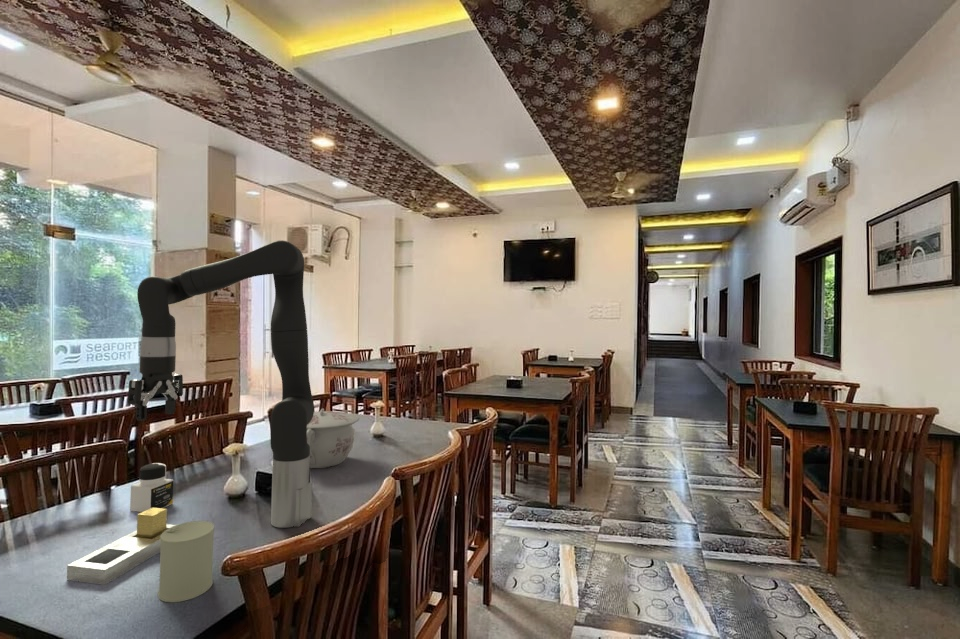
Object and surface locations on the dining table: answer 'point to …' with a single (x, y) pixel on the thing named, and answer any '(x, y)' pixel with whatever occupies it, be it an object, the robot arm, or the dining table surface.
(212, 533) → the can
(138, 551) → the rail
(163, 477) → the medicine bottle
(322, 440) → the chamber pot
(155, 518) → the yellow block
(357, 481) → the dining table surface
